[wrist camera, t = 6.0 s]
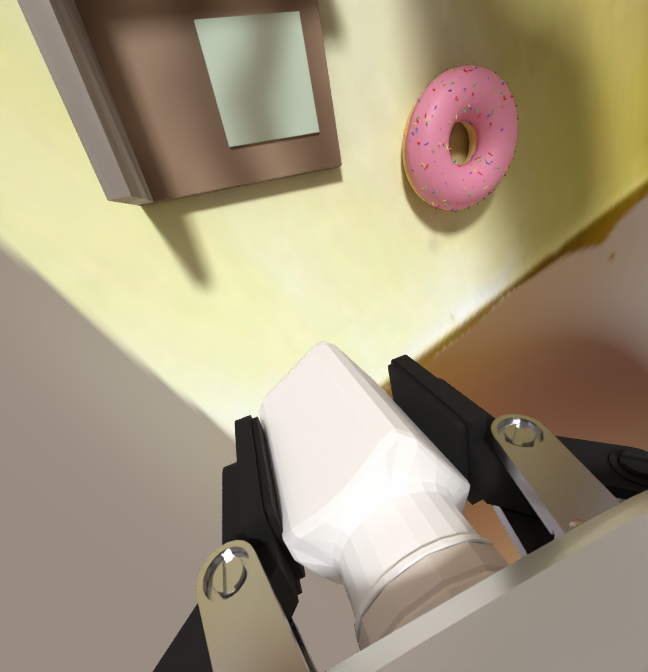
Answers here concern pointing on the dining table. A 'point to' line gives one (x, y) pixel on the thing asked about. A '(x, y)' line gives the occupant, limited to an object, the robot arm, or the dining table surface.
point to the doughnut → (483, 130)
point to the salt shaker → (368, 495)
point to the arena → (190, 91)
